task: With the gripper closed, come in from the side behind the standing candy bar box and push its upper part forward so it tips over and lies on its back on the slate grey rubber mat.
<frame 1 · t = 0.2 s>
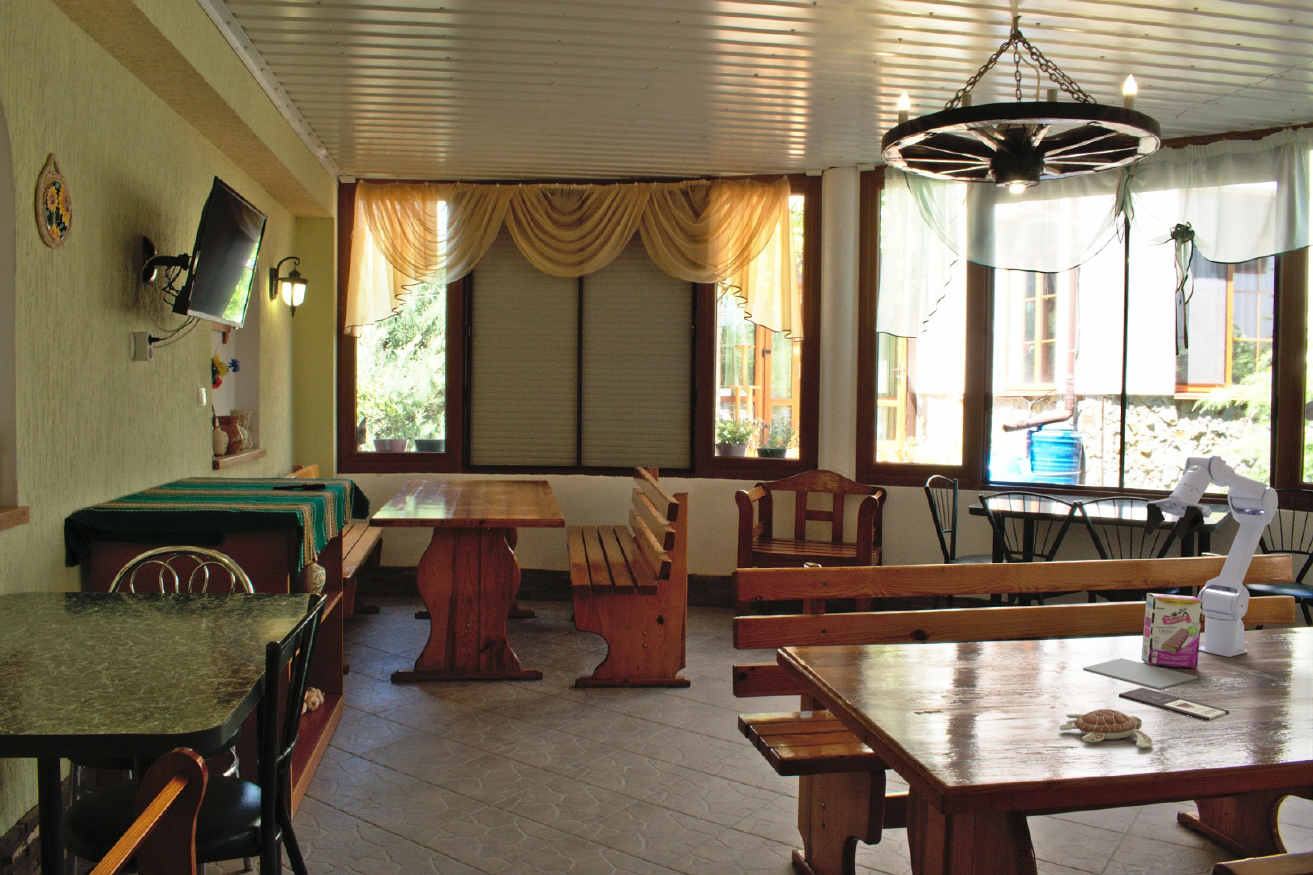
hand: (1162, 534, 228), 32 cm above the table, tool tilted 50°, fingers open, 7 cm apart
chocolate bar: (1172, 707, 201), on the table
candy bar box: (1169, 665, 231), on the table, touching rubber mat
rubber mat: (1139, 673, 223), on the table
decorative turtle: (1106, 737, 182), on the table
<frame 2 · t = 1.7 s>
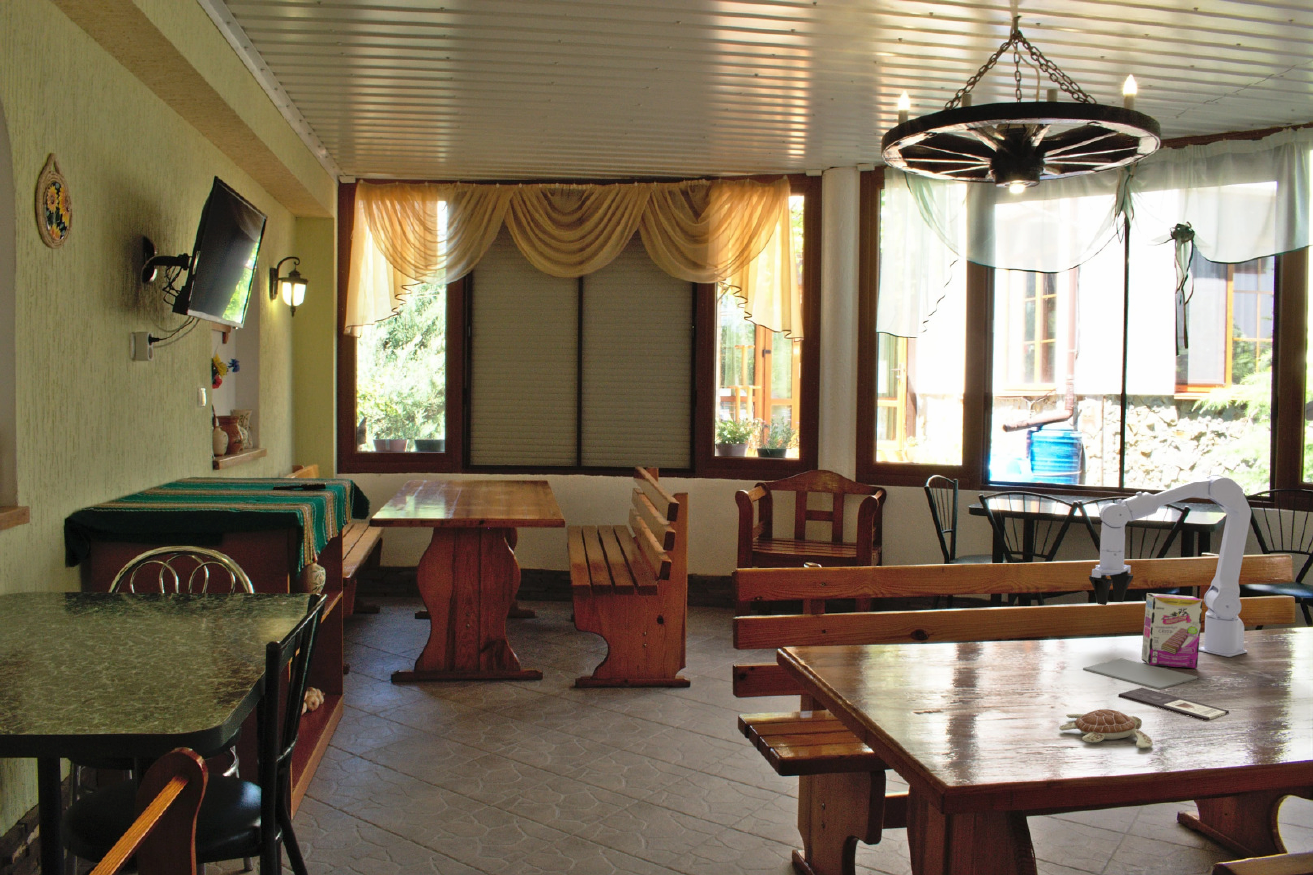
hand: (1110, 602, 251), 10 cm above the table, tool pointing down, fingers open, 7 cm apart
nothing on the table moved.
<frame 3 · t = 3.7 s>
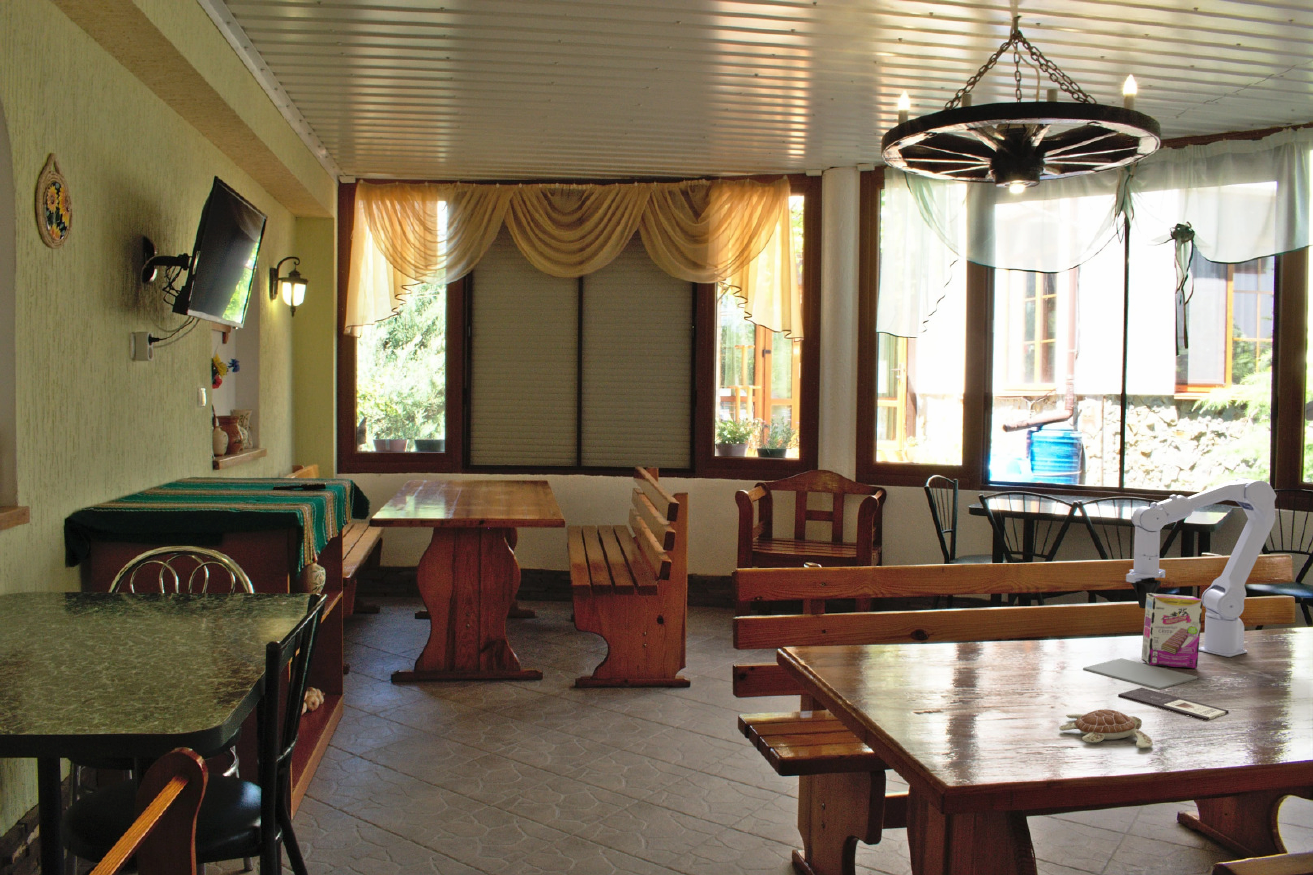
hand: (1144, 608, 246), 10 cm above the table, tool pointing down, fingers closed
nothing on the table moved.
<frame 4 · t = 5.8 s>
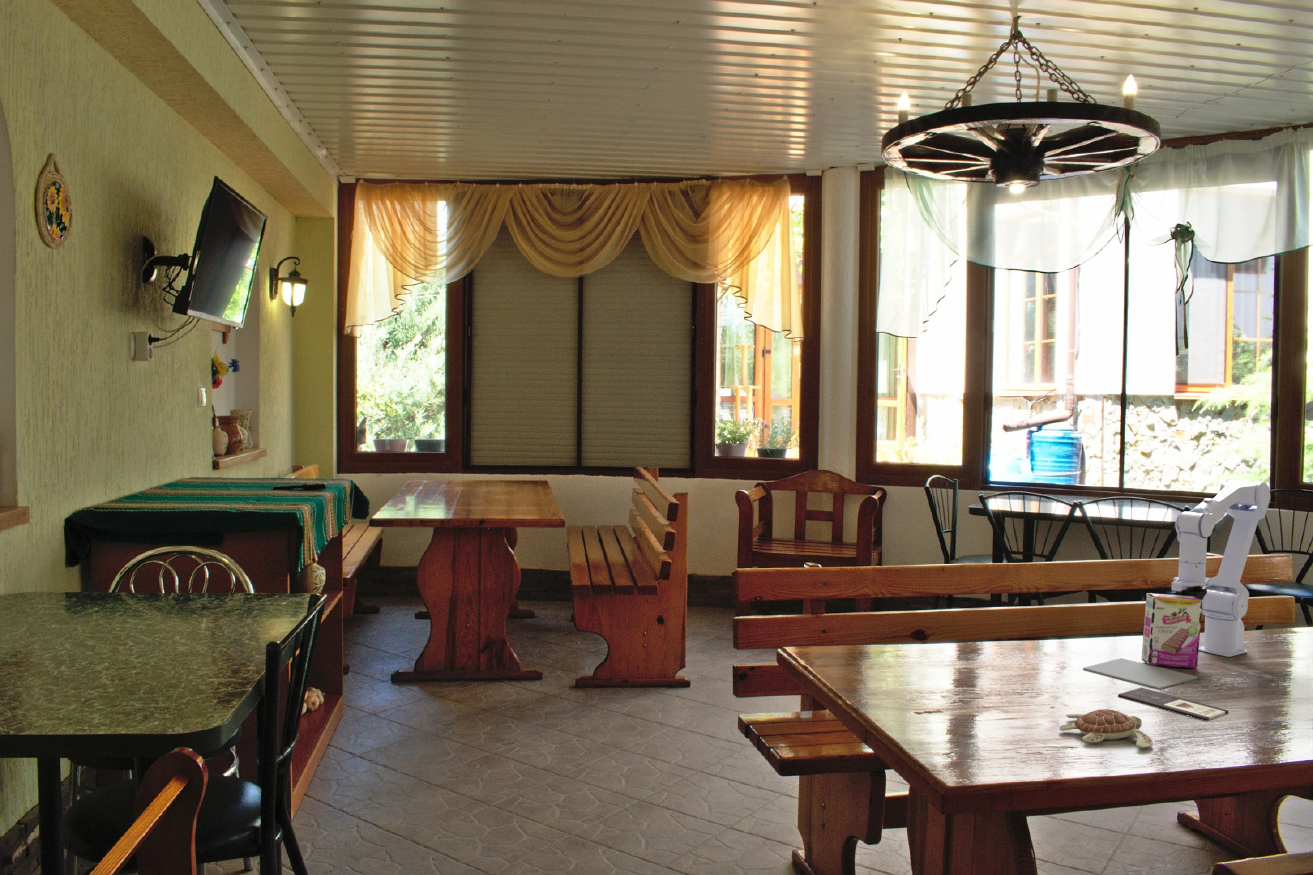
hand: (1190, 617, 235), 10 cm above the table, tool pointing down, fingers closed
candy bar box: (1169, 665, 231), on the table, touching gripper, rubber mat
everything else where it was.
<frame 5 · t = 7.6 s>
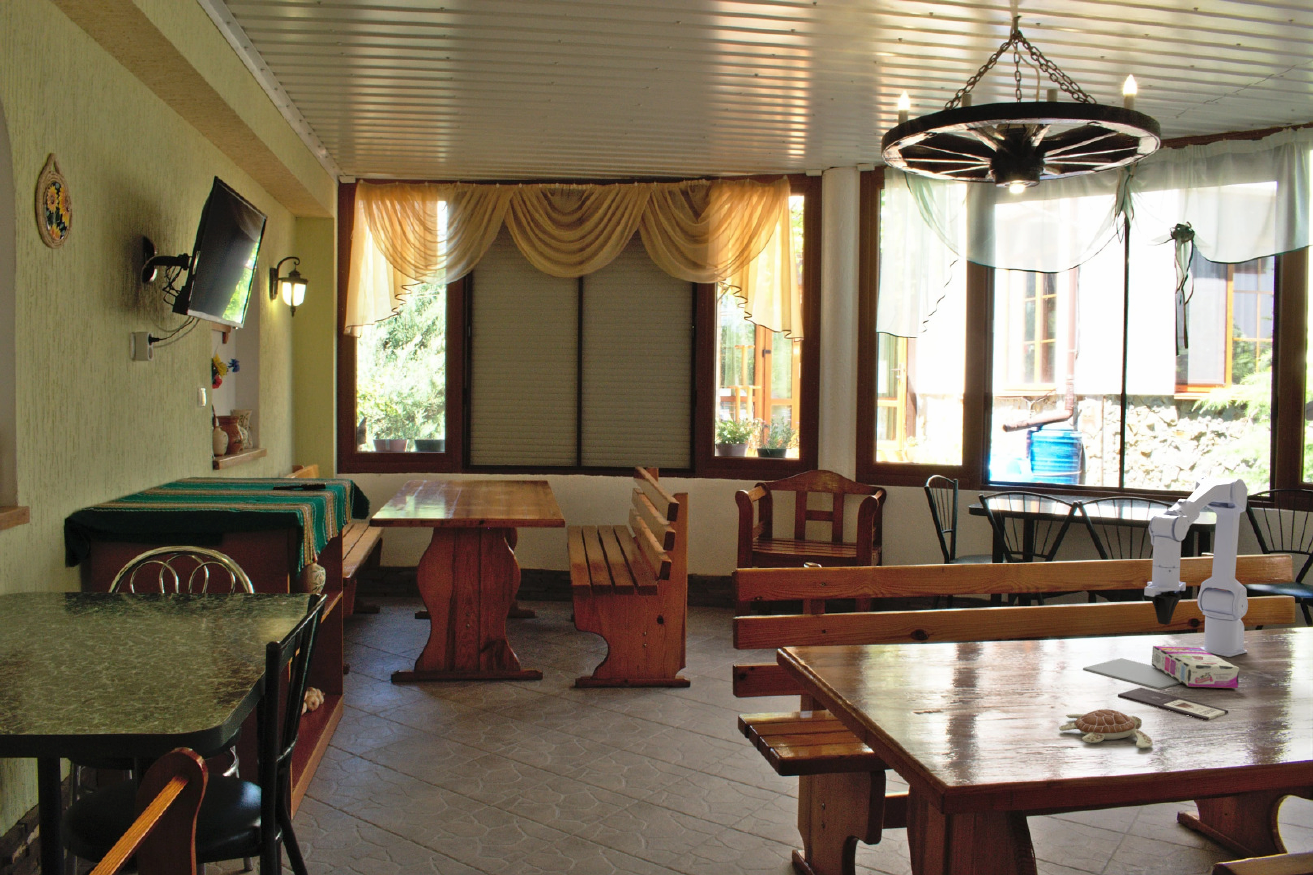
hand: (1163, 623, 228), 10 cm above the table, tool pointing down, fingers closed
candy bar box: (1175, 656, 228), point 3 cm above the table, touching rubber mat
everything else where it was.
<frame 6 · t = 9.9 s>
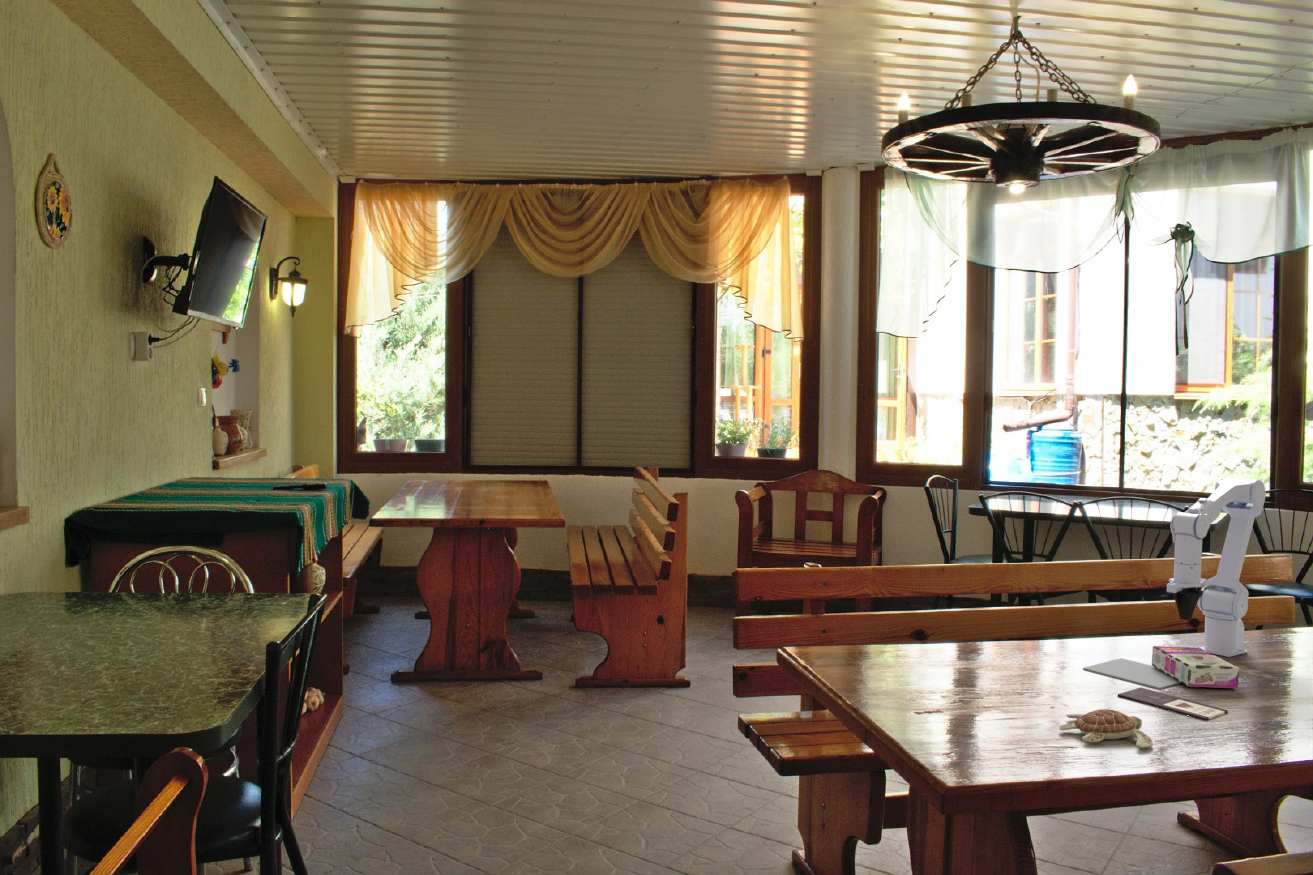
hand: (1185, 619, 234), 10 cm above the table, tool pointing down, fingers closed
nothing on the table moved.
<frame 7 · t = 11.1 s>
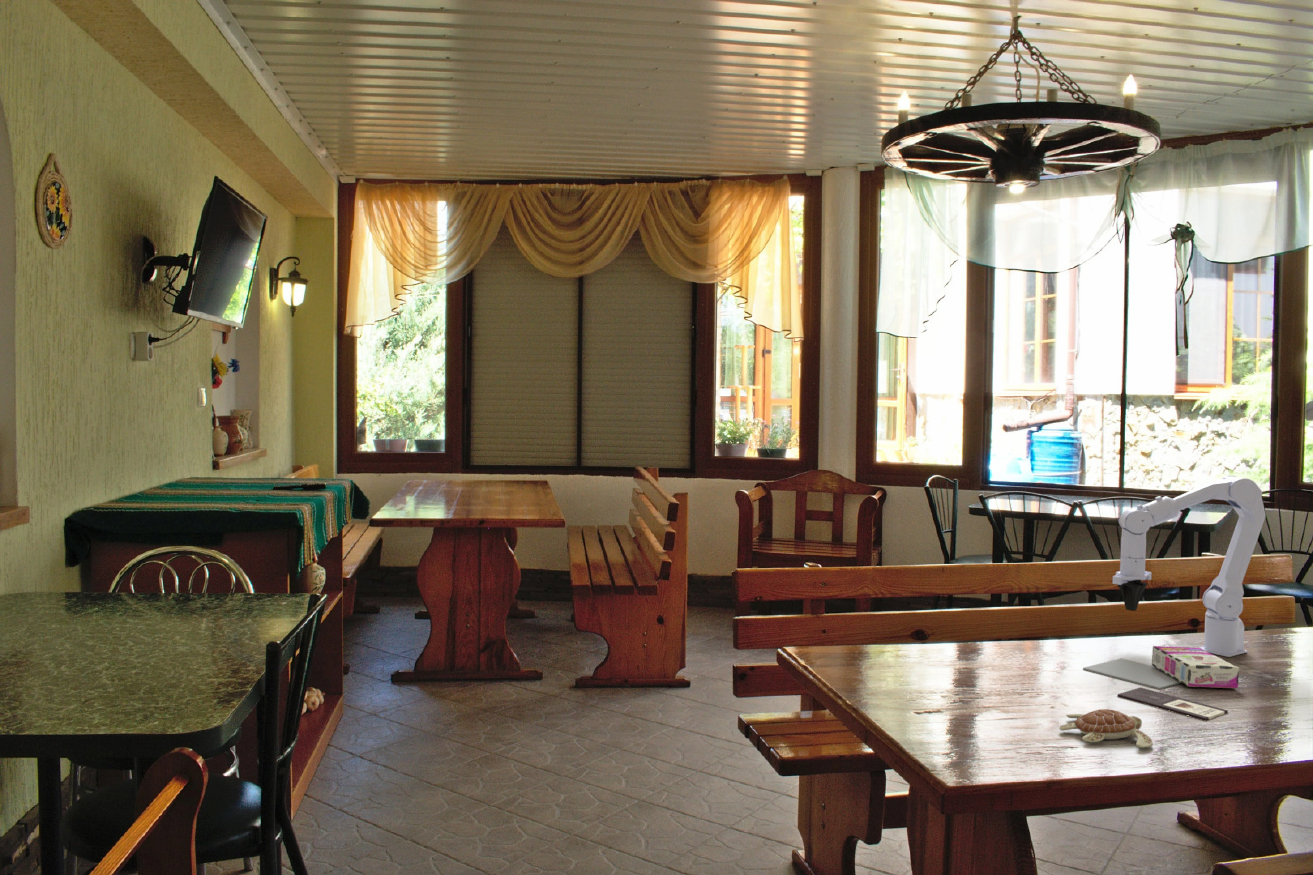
hand: (1130, 609, 248), 9 cm above the table, tool pointing down, fingers closed
nothing on the table moved.
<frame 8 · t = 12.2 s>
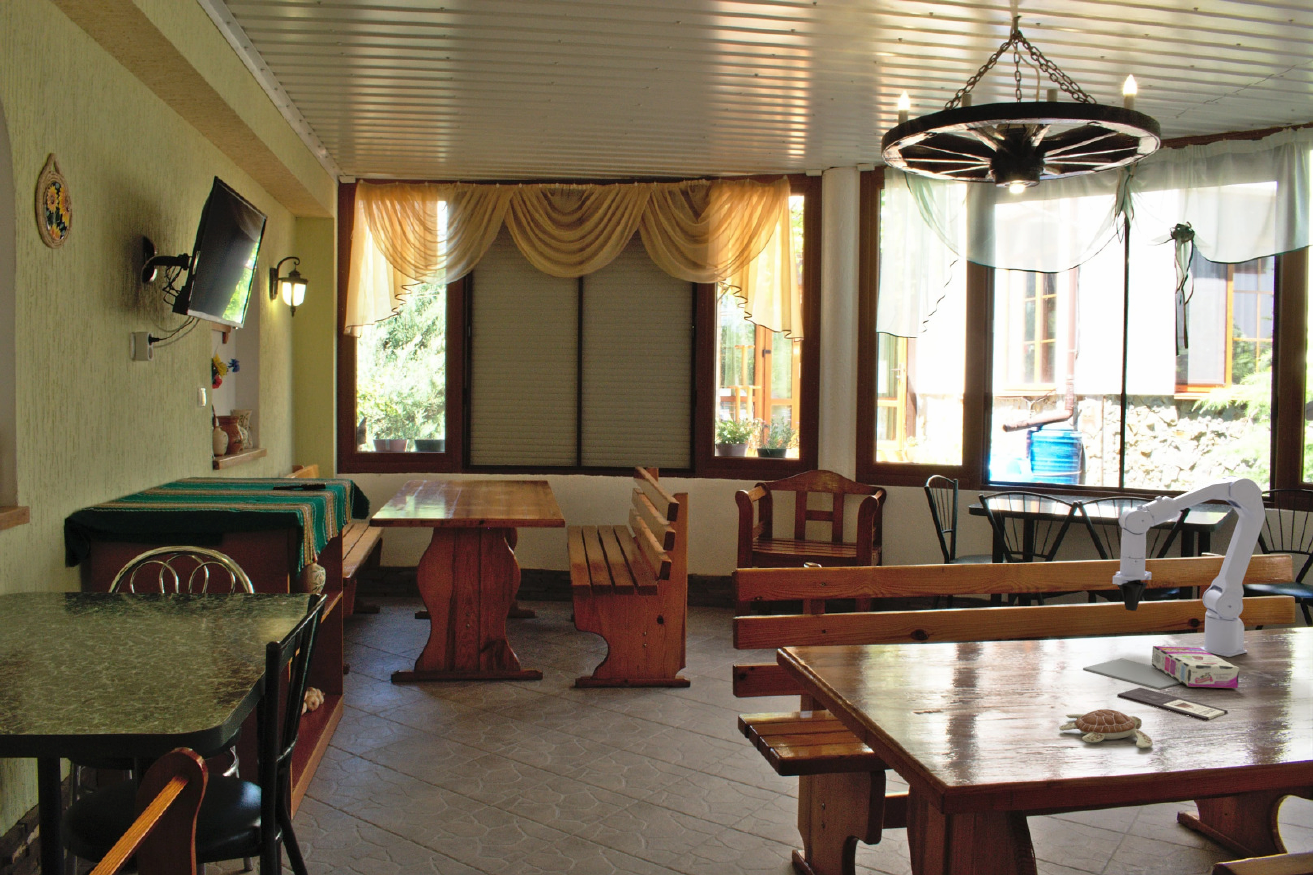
hand: (1130, 609, 248), 9 cm above the table, tool pointing down, fingers closed
nothing on the table moved.
at the end: candy bar box tilted 90°; candy bar box touching rubber mat; candy bar box inside the target area (6.7 cm from its centre), point 2.8 cm above the table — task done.
